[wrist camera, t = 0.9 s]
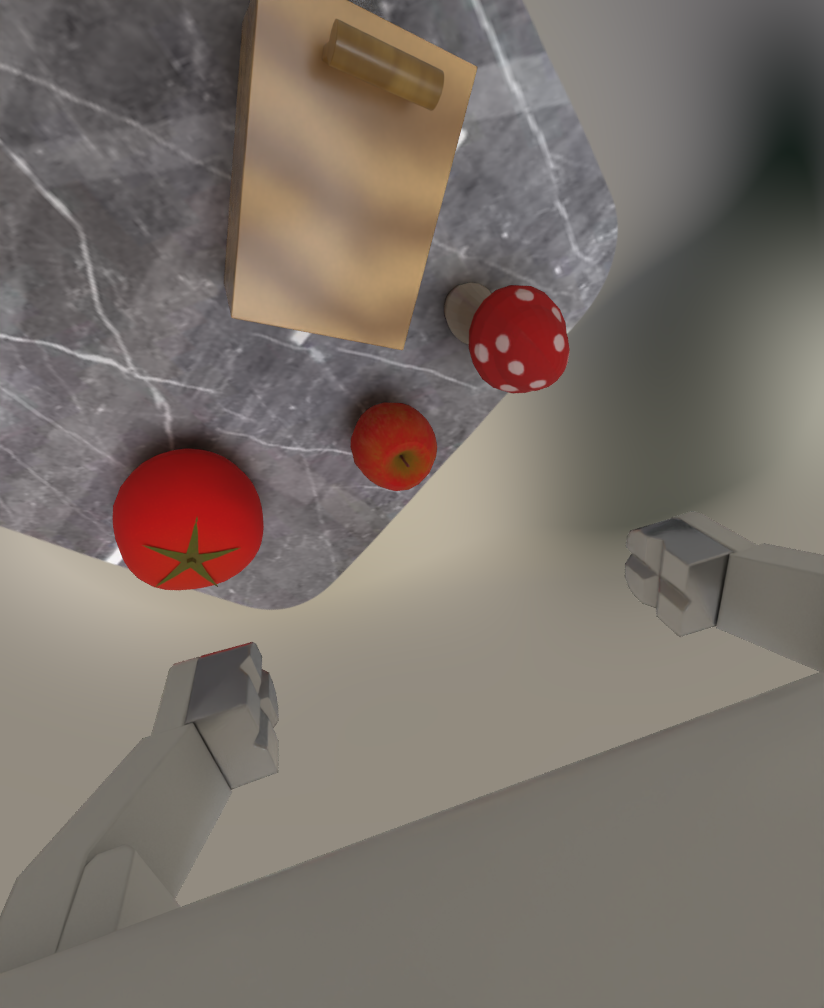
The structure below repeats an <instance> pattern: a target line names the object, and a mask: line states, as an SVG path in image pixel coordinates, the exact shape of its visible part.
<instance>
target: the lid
mask: <svg viewBox="0 0 824 1008" xmlns="http://www.w3.org/2000/svg"><path fill="white" fill-rule="evenodd" d="M476 71H477V67H476V66H474V65H472V64H471V63H469V62H467V61H465V60H463V59H461V58H459V57H457V56H455V55H453V54H451V53H449V52H447V51H445V50H443V49H441V48H439V47H437V46H435V45H433V44H432V43H430V42H428V41H426V40H424V39H422V38H420V37H418V36H416V35H414V34H412V33H410V32H408V31H406V30H404V29H402V28H400V27H398V26H396V25H394V24H392V23H391V22H389V21H387V20H385V19H383V18H381V17H379V16H377V15H375V14H373V13H371V12H369V11H367V10H365V9H363V8H361V7H359V6H357V5H355V4H353V3H352V2H350V1H348V0H256V8H255V21H254V33H253V46H252V58H251V70H250V83H249V95H248V108H247V120H246V132H245V145H244V157H243V170H242V182H241V195H240V207H239V219H238V232H237V244H236V257H235V269H234V281H233V294H232V306H231V317H232V318H235V319H241V320H246V321H251V322H256V323H262V324H267V325H272V326H277V327H283V328H288V329H293V330H298V331H304V332H309V333H314V334H320V335H325V336H330V337H335V338H341V339H346V340H351V341H356V342H362V343H367V344H372V345H377V346H383V347H388V348H393V349H399V350H403V348H404V344H405V341H406V337H407V333H408V329H409V325H410V322H411V318H412V314H413V310H414V306H415V303H416V299H417V295H418V291H419V287H420V284H421V280H422V276H423V272H424V268H425V265H426V261H427V257H428V253H429V250H430V246H431V242H432V238H433V234H434V231H435V227H436V223H437V219H438V215H439V212H440V208H441V204H442V200H443V196H444V193H445V189H446V185H447V181H448V177H449V174H450V170H451V166H452V162H453V159H454V155H455V151H456V147H457V143H458V140H459V136H460V132H461V128H462V124H463V121H464V117H465V113H466V109H467V105H468V102H469V98H470V94H471V90H472V86H473V83H474V79H475V75H476Z"/></svg>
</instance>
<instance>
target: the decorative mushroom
mask: <svg viewBox="0 0 824 1008" xmlns="http://www.w3.org/2000/svg"><path fill="white" fill-rule="evenodd" d="M444 307H445V317H446V320H447V323H448V325H449V328H450V329H451V331H452V332H453V334H454V336H455V337H457V338H458V339H459V340H460V341H461V342H463V343H466V344H468V345H469V351H470V354H471V358H472V362H473V364H474V366H475V368H476V370H477V371H478V373H479V374H480V376H481V378H482V379H483V380H484V381H486V382H487V383H488V384H489V385H491V386H492V387H493V388H496V389H499V390H503V391H506V392H509V393H526V392H530V391H537V390H540V389H543V388H546V387H549V386H550V385H552V384H553V383H554V382H556V381H557V380H558V379H559V377H560V376H561V375H562V373H563V372H564V370H565V368H566V365H567V362H568V356H569V343H568V337H567V333H566V324H565V321H564V318H563V316H562V313H561V311H560V309H559V308H558V307H557V306H556V304H555V303H554V302H553V301H552V300H551V299H550V298H549V297H548V296H547V295H546V294H545V292H542V291H540V290H538V289H536V288H534V287H532V286H517V285H510V286H507V287H504V288H501V289H498V290H496V291H494V292H493V293H491V292H490V291H489V290H488V289H487V288H486V287H484V286H482V285H480V284H477V283H466V284H463V285H459V286H456V287H455V288H454V289H452V290H451V291H450V293H449V294H448V296H447V298H446V302H445V306H444Z"/></svg>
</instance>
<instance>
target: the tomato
mask: <svg viewBox="0 0 824 1008" xmlns="http://www.w3.org/2000/svg"><path fill="white" fill-rule="evenodd" d="M113 528H114V534H115V539H116V542H117V545H118V548H119V550H120V553H121V555H122V558H123V560H124V562H125V563H126V565H127V566H128V568H129V570H130V571H131V572H132V573H133V574H134V575H135V576H136V577H137V578H138V579H140V580H142V581H144V582H145V583H147V584H149V585H151V586H153V587H156V588H160V589H165V590H187V589H197V588H204V587H208V586H212V585H216V586H217V584H218V583H221V582H224V581H226V580H228V579H230V578H231V577H233V576H235V575H236V574H238V573H240V572H241V571H242V570H243V569H244V568H245V567H246V566H247V565H248V564H249V563H250V562H251V561H252V560H253V558H254V557H255V555H256V554H257V552H258V550H259V548H260V545H261V541H262V536H263V513H262V507H261V503H260V499H259V496H258V494H257V491H256V489H255V487H254V485H253V483H252V482H251V480H250V479H249V478H248V477H247V476H246V474H245V473H244V472H243V471H241V470H240V469H239V468H238V467H237V466H236V465H235V464H234V463H232V462H231V461H229V460H228V459H226V458H225V457H223V456H221V455H218V454H216V453H213V452H209V451H205V450H200V449H179V450H172V451H169V452H166V453H162V454H159V455H157V456H154V457H153V458H151V459H149V460H147V461H145V462H143V463H142V464H141V465H140V466H139V467H137V468H136V469H135V470H134V471H133V472H132V473H131V474H130V476H129V477H128V478H127V479H126V481H125V482H124V483H123V484H122V486H121V487H120V490H119V492H118V495H117V497H116V500H115V503H114V505H113ZM217 587H218V586H217Z"/></svg>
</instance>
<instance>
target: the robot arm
mask: <svg viewBox="0 0 824 1008" xmlns="http://www.w3.org/2000/svg"><path fill="white" fill-rule="evenodd" d="M626 548H627V549H628V550H629V551H630V552H631V553H632V554H631V555H630V557H629V559H628V560H627V562H626V563H625V578H626V581H627V584H628V587H629V589H630V590H631V592H632V593H633V594H634V596H635V597H636V598H637V599H638V600H639V601H640V602H641V603H642V604H645V605H648V606H651V607H654V608H656V614H657V617H658V618H659V619H660V620H661V621H662V622H663V623H664V624H666V625H667V626H668V627H669V628H670V629H671V630H672V631H673V632H674V633H676V634H677V635H678V636H679V637H681V636H684V635H688V634H691V633H694V632H698V631H701V630H704V629H708V628H711V627H714V626H716V628H718V629H720V630H722V631H725V632H727V633H729V634H732V635H734V636H736V637H739V638H741V639H744V640H746V641H748V642H751V643H753V644H755V645H758V646H760V647H763V648H765V649H767V650H770V651H772V652H774V653H777V654H779V655H782V656H784V657H786V658H789V659H791V660H793V661H796V662H798V663H801V664H803V665H805V666H808V667H810V668H812V669H815V670H817V671H820V672H819V673H816V674H813V675H811V676H808V677H805V678H803V679H800V680H797V681H794V682H792V683H789V684H786V685H783V686H781V687H778V688H775V689H772V690H770V691H767V692H765V693H762V694H759V695H756V696H754V697H751V698H748V699H745V700H742V701H740V702H737V703H734V704H732V705H729V706H726V707H724V708H721V709H718V710H715V711H713V712H710V713H707V714H705V715H702V716H699V717H696V718H694V719H691V720H689V721H686V722H683V723H680V724H677V725H675V726H672V727H669V728H667V729H664V730H661V731H659V732H656V733H653V734H650V735H648V736H645V737H642V738H640V739H637V740H634V741H631V742H629V743H626V744H623V745H620V746H618V747H615V748H612V749H610V750H607V751H604V752H601V753H599V754H596V755H593V756H591V757H588V758H585V759H582V760H580V761H577V762H574V763H571V764H569V765H566V766H563V767H560V768H558V769H555V770H552V771H550V772H547V773H544V774H542V775H539V776H536V777H534V778H531V779H528V780H525V781H522V782H520V783H517V784H514V785H511V786H509V787H506V788H503V789H500V790H498V791H495V792H492V793H490V794H487V795H484V796H481V797H479V798H476V799H473V800H470V801H468V802H465V803H463V804H460V805H457V806H454V807H451V808H449V809H446V810H443V811H441V812H438V813H435V814H432V815H430V816H427V817H424V818H422V819H419V820H416V821H413V822H411V823H408V824H405V825H403V826H400V827H397V828H394V829H392V830H389V831H386V832H383V833H381V834H378V835H375V836H373V837H370V838H367V839H364V840H362V841H359V842H356V843H354V844H351V845H348V846H345V847H343V848H340V849H337V850H335V851H332V852H329V853H326V854H324V855H321V856H318V857H315V858H313V859H310V860H307V861H305V862H302V863H299V864H296V865H294V866H291V867H288V868H285V869H283V870H280V871H277V872H275V873H272V874H269V875H266V876H264V877H261V878H258V879H256V880H253V881H250V882H247V883H245V884H242V885H239V886H236V887H234V888H231V889H229V890H226V891H223V892H220V893H217V894H215V895H212V896H210V897H207V898H204V899H201V900H198V901H196V902H193V903H190V904H188V905H185V906H182V907H180V905H179V904H178V903H177V902H176V901H175V898H176V896H177V894H178V892H179V891H180V889H181V887H182V885H183V883H184V881H185V879H186V878H187V876H188V874H189V872H190V870H191V868H192V866H193V864H194V863H195V861H196V859H197V857H198V855H199V853H200V851H201V849H202V848H203V846H204V844H205V842H206V840H207V838H208V836H209V835H210V833H211V831H212V829H213V827H214V825H215V823H216V821H217V820H218V818H219V816H220V814H221V812H222V810H223V808H224V807H225V805H226V803H227V801H228V799H229V797H230V795H231V793H232V791H231V790H232V789H234V788H237V787H240V786H242V785H245V784H248V783H250V782H253V781H256V780H259V779H261V778H264V777H267V776H270V775H272V774H275V773H278V739H277V736H276V734H275V731H274V730H273V728H274V727H275V725H276V724H277V722H278V704H277V697H276V692H275V688H274V685H273V681H272V679H271V677H270V674H269V673H268V672H267V671H265V670H263V669H262V655H261V653H260V651H259V649H258V647H257V645H256V644H255V643H253V642H250V643H247V644H243V645H239V646H236V647H232V648H228V649H224V650H221V651H217V652H213V653H210V654H206V655H203V656H201V657H196V658H193V659H189V660H186V661H182V662H179V663H175V664H174V665H173V666H172V667H171V668H170V669H169V672H168V676H167V679H166V683H165V687H164V690H163V694H162V697H161V701H160V705H159V708H158V712H157V716H156V719H155V723H154V727H153V730H152V734H151V736H149V737H146V738H142V740H141V741H140V742H139V743H138V744H137V745H136V746H135V747H134V749H133V750H132V751H131V752H130V753H129V754H128V755H127V756H126V757H125V759H124V760H123V761H122V762H121V763H120V764H119V765H118V766H117V767H116V768H115V770H114V771H113V772H112V773H111V774H110V775H109V776H108V777H107V778H106V780H105V781H104V782H103V783H102V784H101V785H100V786H99V787H98V789H97V790H96V791H95V792H94V793H93V794H92V795H91V796H90V797H89V799H88V800H87V801H86V802H85V803H84V804H83V805H82V806H81V807H80V809H79V810H78V811H77V812H76V813H75V814H74V815H73V816H72V817H71V819H70V820H69V821H68V822H67V823H66V824H65V825H64V826H63V828H62V829H61V830H60V831H59V832H58V833H57V834H56V835H55V836H54V837H53V839H52V840H51V841H50V842H49V843H48V844H47V845H46V846H45V847H44V849H43V850H42V851H41V852H40V853H39V854H38V855H37V857H35V859H34V860H33V861H32V862H31V863H30V864H29V865H28V866H27V868H26V869H25V870H24V871H23V872H22V873H21V874H20V875H19V877H17V879H16V881H15V883H14V886H13V888H12V890H11V892H10V895H9V897H8V899H7V902H6V904H5V906H4V909H3V911H2V913H1V916H0V1008H824V555H821V554H816V553H811V552H806V551H801V550H796V549H791V548H785V547H780V546H775V545H770V544H761V545H756V544H755V543H753V542H751V541H749V540H748V539H746V538H744V537H742V536H741V535H739V534H737V533H735V532H733V531H732V530H730V529H728V528H726V527H725V526H723V525H721V524H719V523H718V522H716V521H714V520H712V519H710V518H708V517H707V516H705V515H703V514H701V513H699V512H694V511H691V512H688V513H684V514H682V515H678V516H675V517H672V518H671V519H668V520H664V521H661V522H658V523H654V524H651V525H648V526H644V527H641V528H638V529H635V530H631V531H630V532H629V534H628V536H627V542H626Z"/></svg>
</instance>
